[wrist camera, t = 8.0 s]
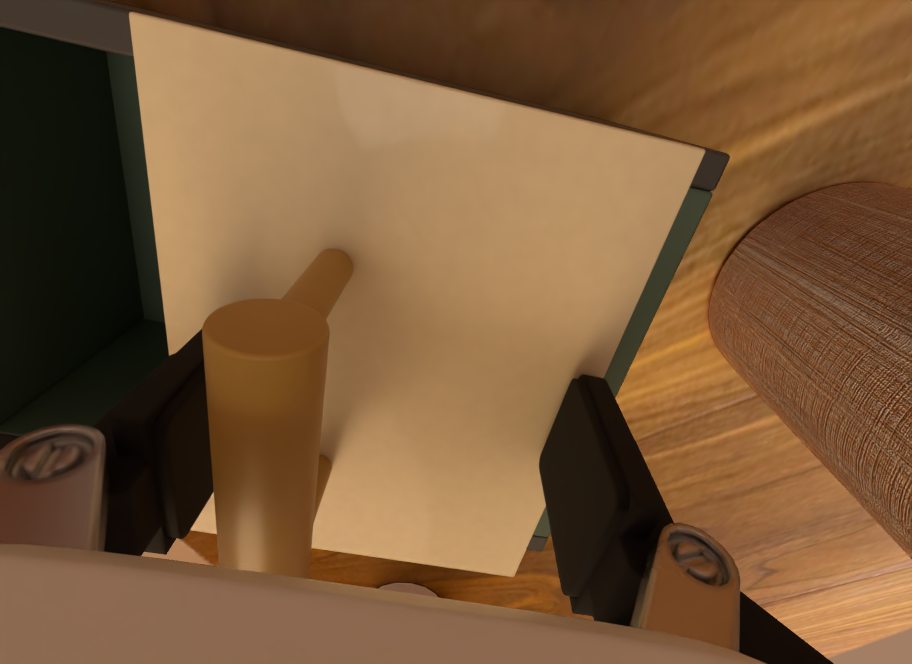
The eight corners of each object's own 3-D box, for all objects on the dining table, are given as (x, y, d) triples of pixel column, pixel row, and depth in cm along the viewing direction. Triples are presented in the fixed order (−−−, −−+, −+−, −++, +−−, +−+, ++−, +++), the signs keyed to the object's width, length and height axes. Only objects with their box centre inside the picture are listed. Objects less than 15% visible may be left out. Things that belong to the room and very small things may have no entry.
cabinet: (139, 322, 23) (-51, 463, 14) (90, -4, 16) (-309, -96, 8) (515, 391, 24) (542, 552, 16) (607, 120, 18) (733, 155, 10)
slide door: (201, 509, 15) (79, 710, 10) (155, 16, 8) (-255, -70, 4) (511, 555, 16) (532, 760, 11) (689, 144, 9) (927, 210, 4)
